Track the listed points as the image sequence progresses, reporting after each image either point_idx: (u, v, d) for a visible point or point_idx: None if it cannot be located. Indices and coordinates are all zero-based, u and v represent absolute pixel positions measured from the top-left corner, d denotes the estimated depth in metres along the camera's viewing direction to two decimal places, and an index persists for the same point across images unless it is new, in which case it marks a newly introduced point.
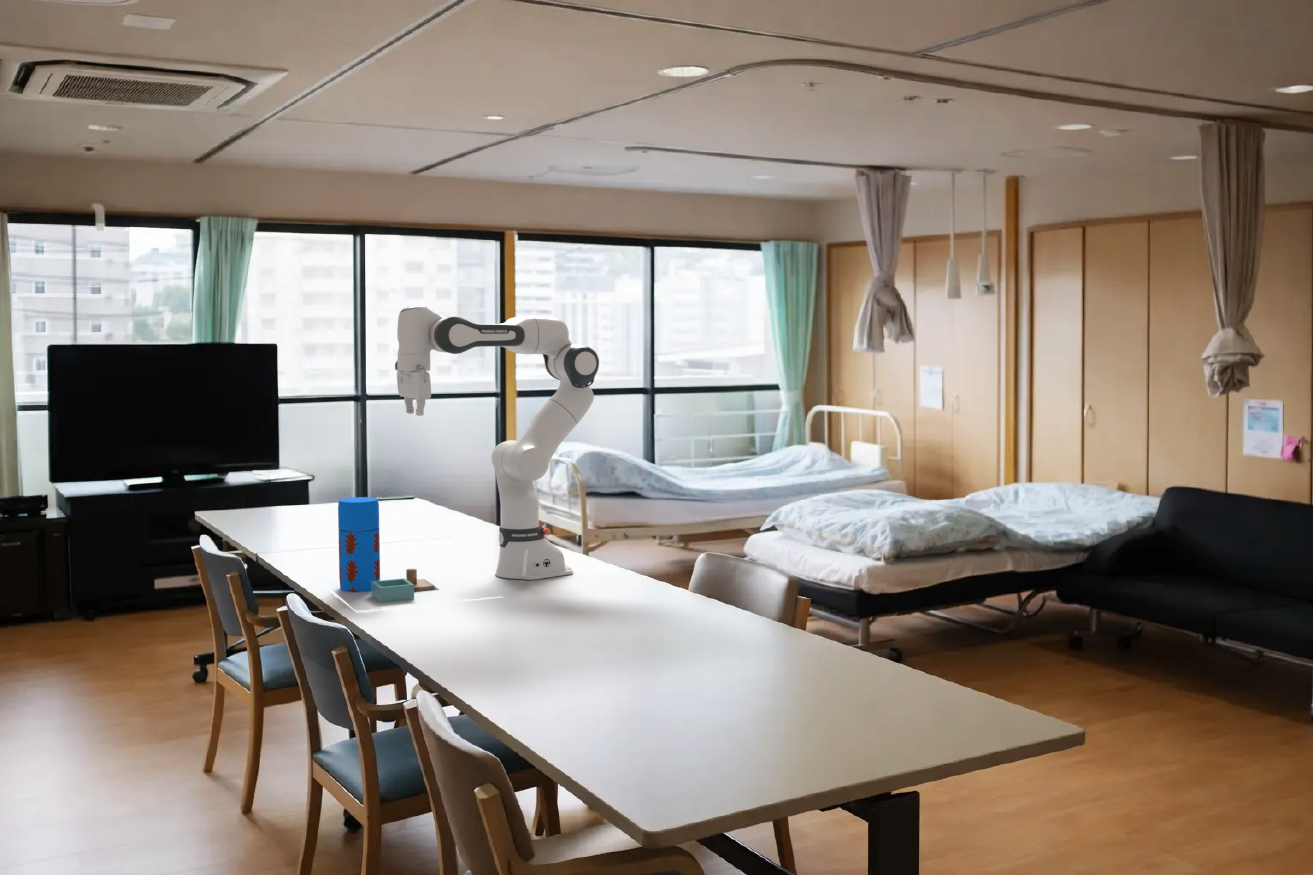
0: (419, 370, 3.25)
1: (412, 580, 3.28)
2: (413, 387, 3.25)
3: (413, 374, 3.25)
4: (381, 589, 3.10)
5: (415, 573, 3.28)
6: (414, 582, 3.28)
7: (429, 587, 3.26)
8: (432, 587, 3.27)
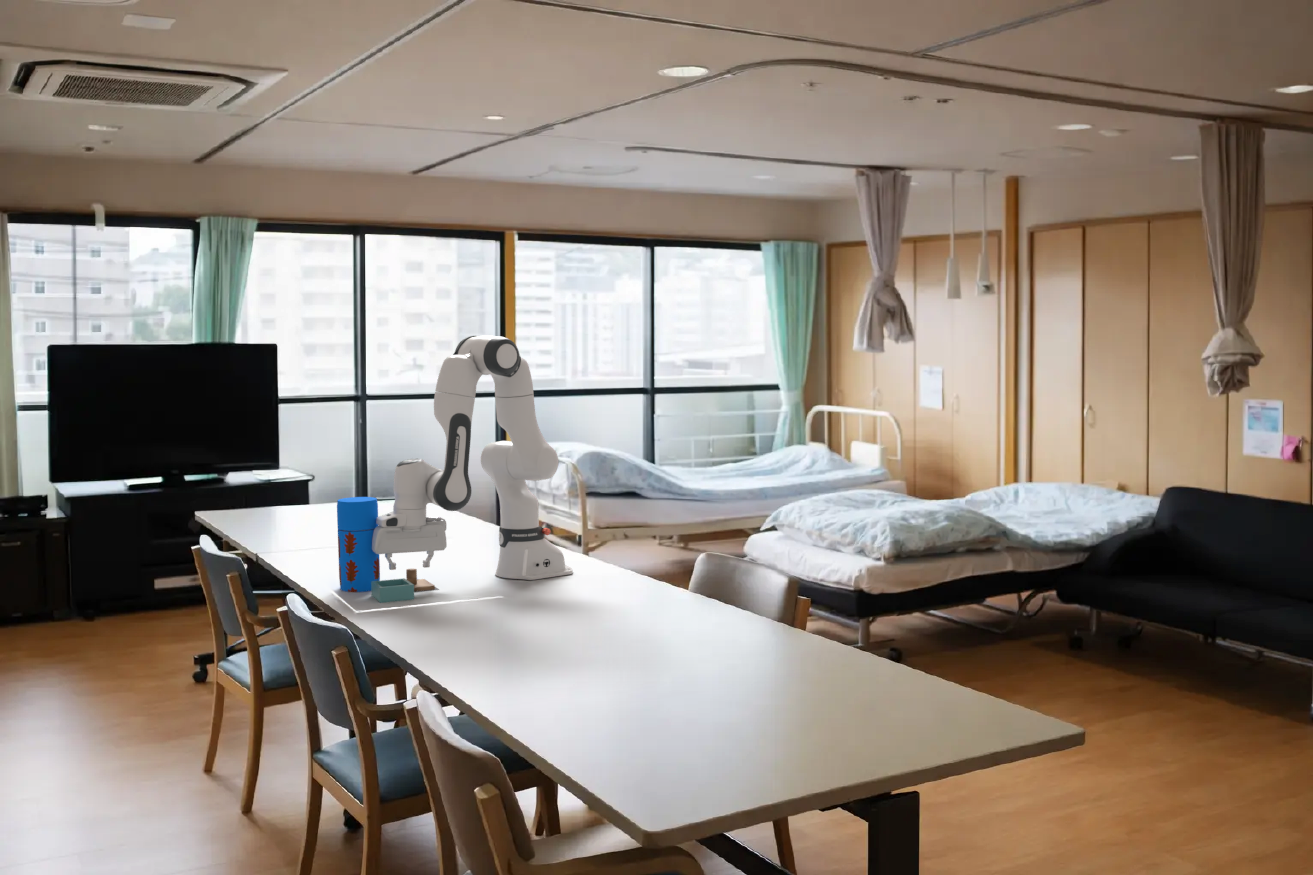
0: (432, 522, 3.30)
1: (412, 580, 3.28)
2: (430, 540, 3.28)
3: (430, 527, 3.28)
4: (381, 589, 3.10)
5: (415, 573, 3.28)
6: (414, 582, 3.28)
7: (429, 587, 3.26)
8: (432, 587, 3.27)
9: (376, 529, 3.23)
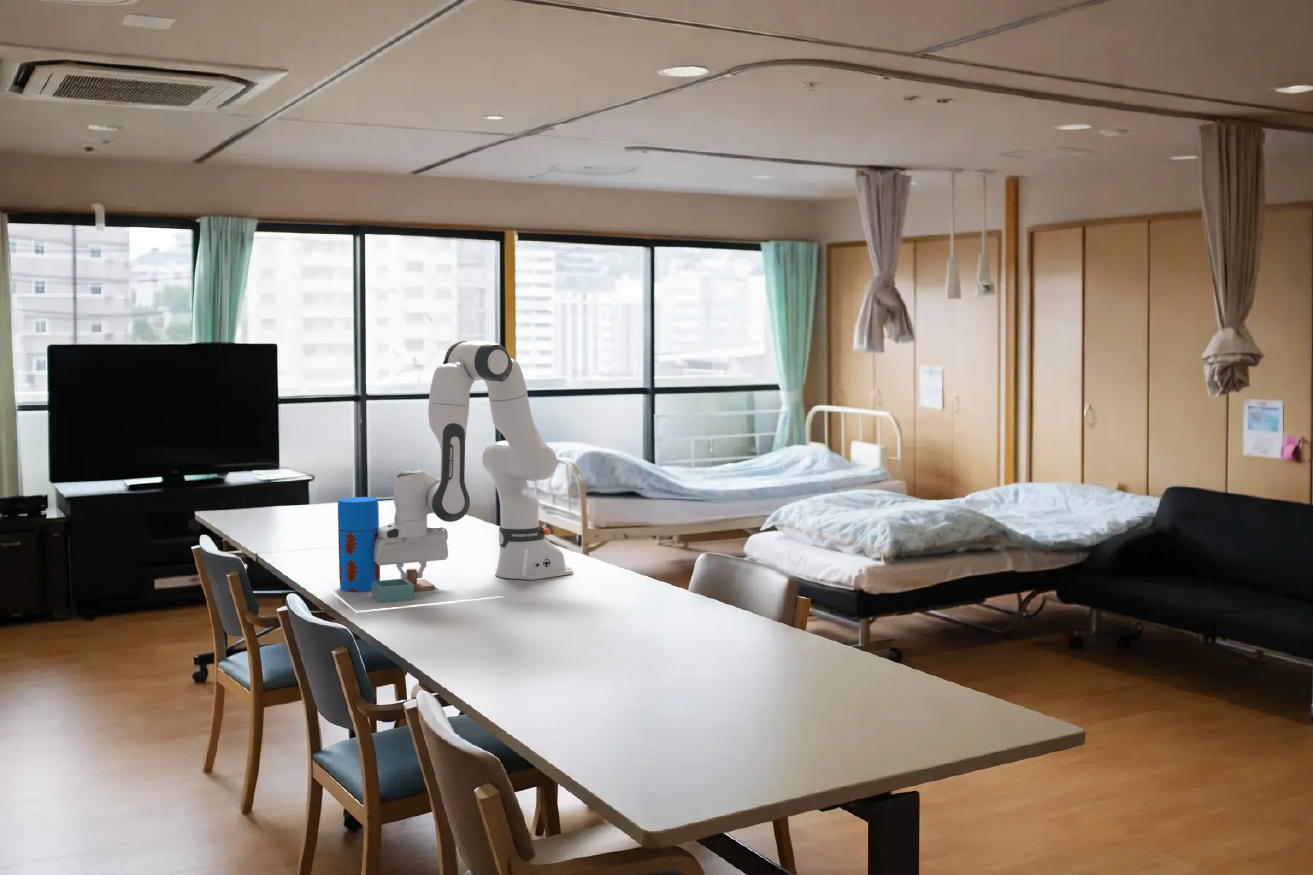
0: (434, 532, 3.30)
1: (412, 580, 3.28)
2: (432, 550, 3.29)
3: (432, 537, 3.29)
4: (381, 589, 3.10)
5: (415, 573, 3.28)
6: (414, 582, 3.28)
7: (429, 587, 3.26)
8: (432, 587, 3.27)
9: (377, 540, 3.24)
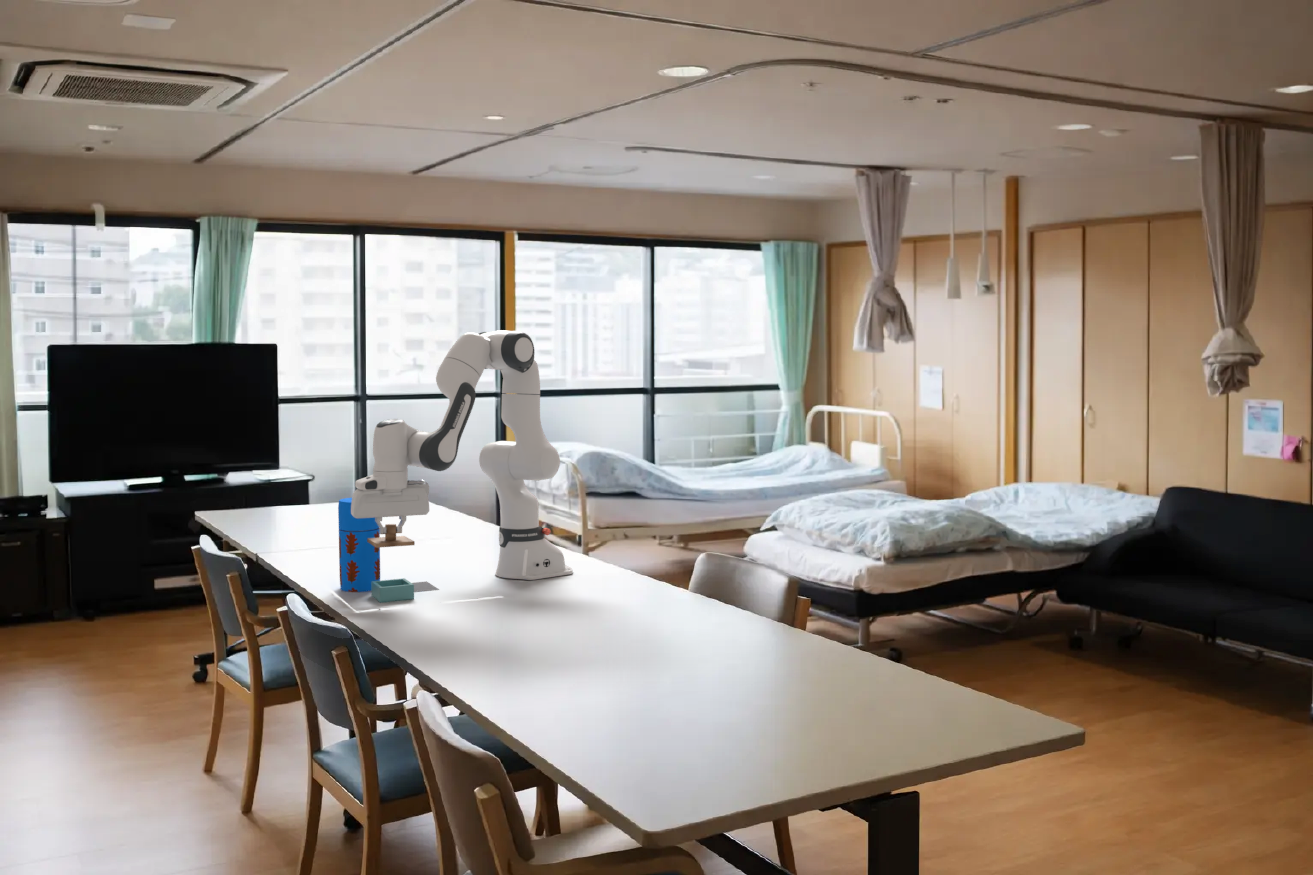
0: (414, 485, 3.17)
1: (391, 535, 3.14)
2: (412, 504, 3.15)
3: (412, 490, 3.15)
4: (381, 589, 3.10)
5: (394, 528, 3.14)
6: (393, 538, 3.14)
7: (408, 543, 3.12)
8: (412, 543, 3.13)
9: (355, 492, 3.10)
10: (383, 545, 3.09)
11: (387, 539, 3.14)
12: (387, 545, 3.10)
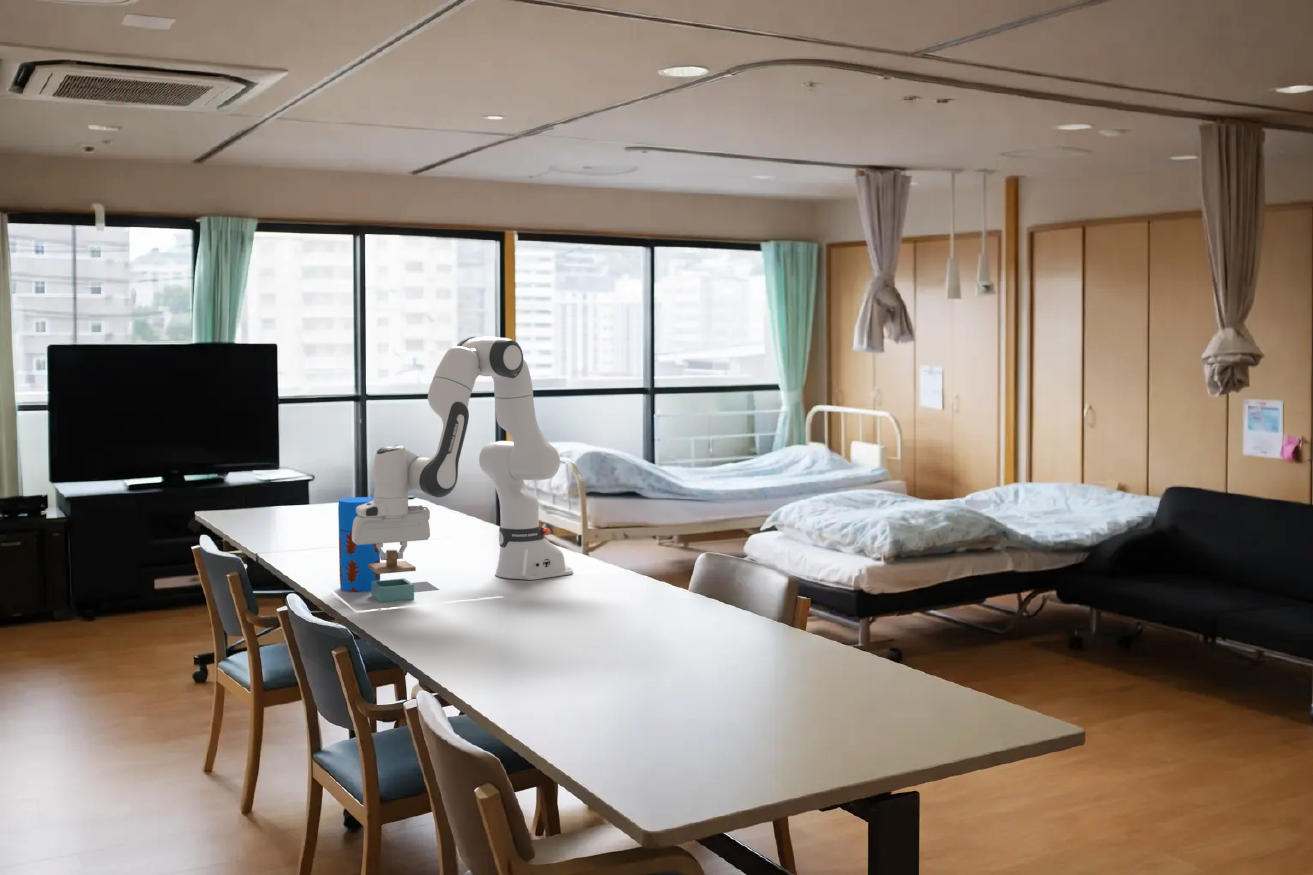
0: (415, 511, 3.17)
1: (392, 561, 3.14)
2: (413, 529, 3.16)
3: (413, 516, 3.15)
4: (381, 589, 3.10)
5: (395, 554, 3.15)
6: (394, 563, 3.15)
7: (410, 569, 3.13)
8: (413, 569, 3.13)
9: (356, 519, 3.11)
10: (384, 571, 3.10)
11: (388, 565, 3.14)
12: (388, 571, 3.10)
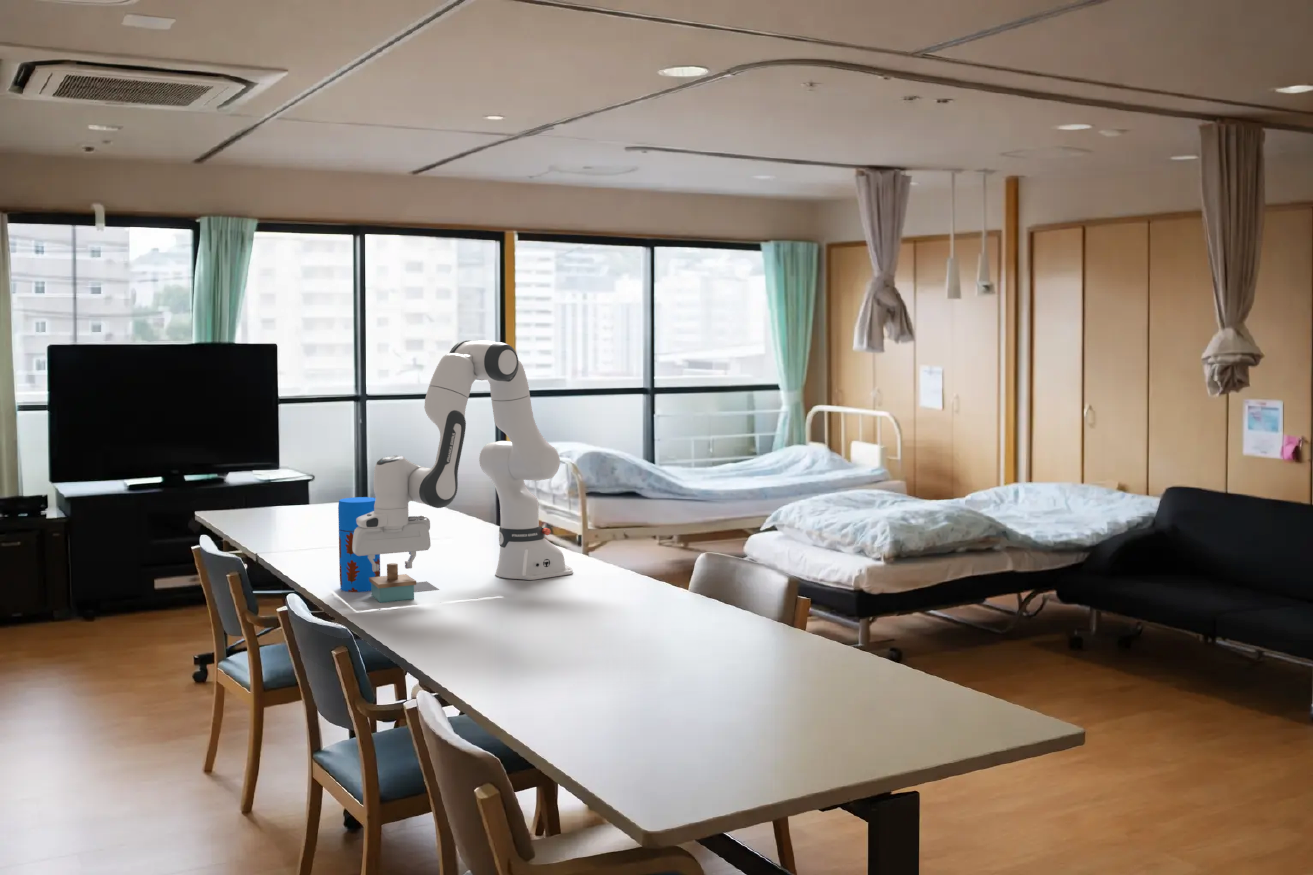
0: (415, 521, 3.17)
1: (393, 575, 3.15)
2: (413, 540, 3.16)
3: (413, 526, 3.16)
4: (381, 589, 3.10)
5: (396, 568, 3.15)
6: (395, 577, 3.15)
7: (410, 582, 3.13)
8: (413, 582, 3.14)
9: (356, 530, 3.11)
10: (385, 585, 3.10)
11: (389, 579, 3.15)
12: (389, 585, 3.11)
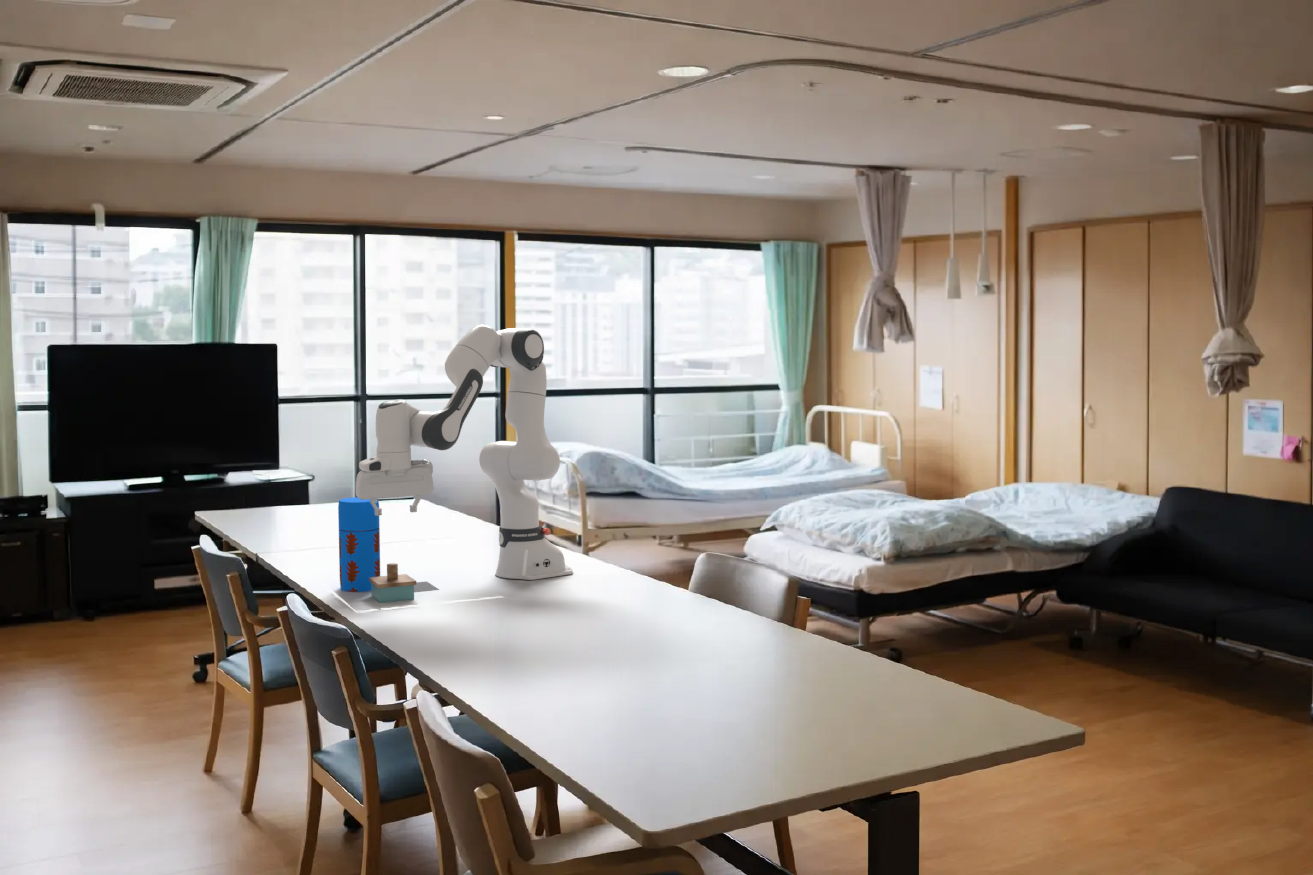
0: (418, 465, 3.18)
1: (393, 575, 3.15)
2: (416, 484, 3.16)
3: (416, 470, 3.16)
4: (381, 589, 3.10)
5: (396, 568, 3.15)
6: (395, 577, 3.15)
7: (410, 582, 3.13)
8: (413, 582, 3.14)
9: (359, 474, 3.11)
10: (385, 585, 3.10)
11: (389, 579, 3.15)
12: (389, 585, 3.11)
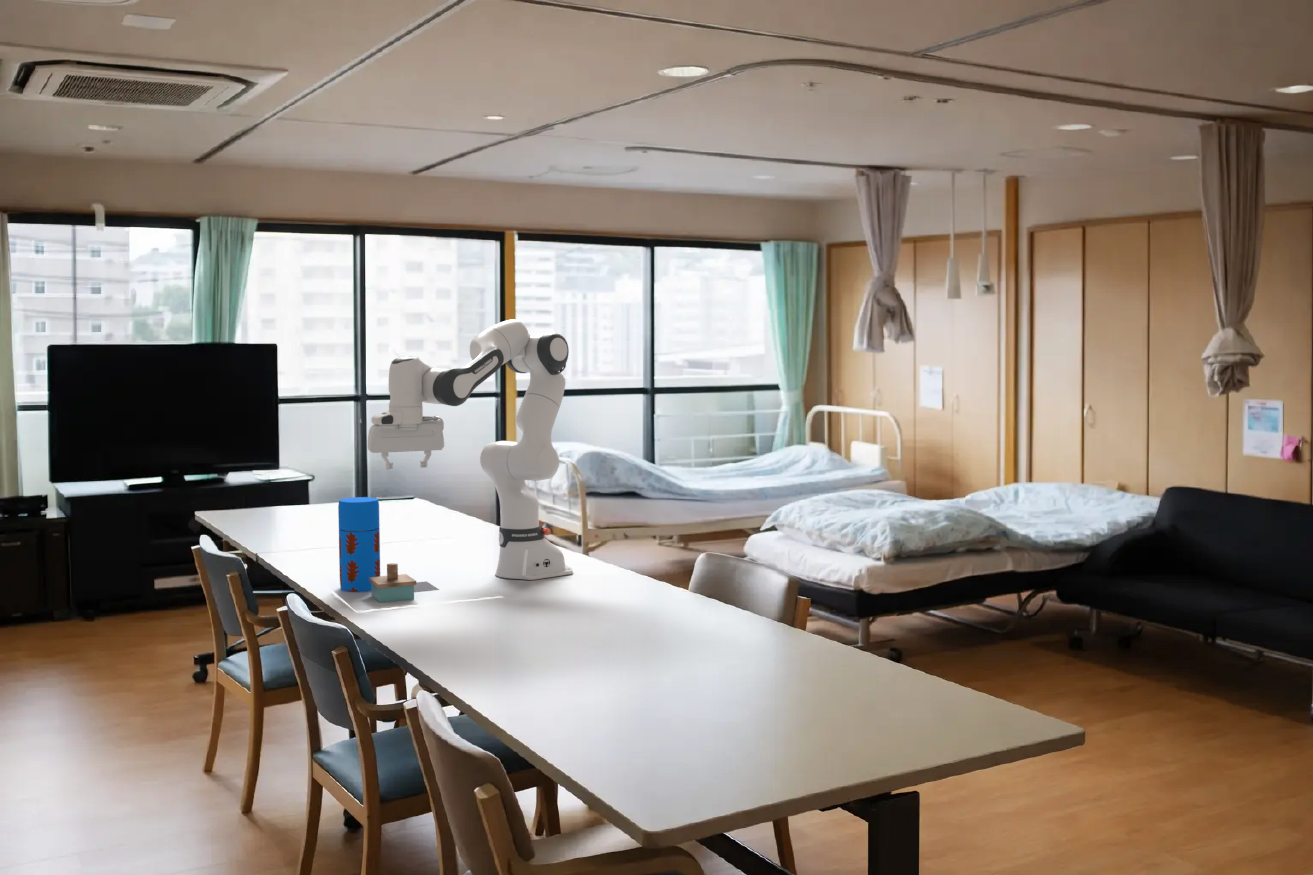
0: (429, 421, 3.23)
1: (393, 575, 3.15)
2: (427, 439, 3.22)
3: (427, 426, 3.22)
4: (381, 589, 3.10)
5: (396, 568, 3.15)
6: (395, 577, 3.15)
7: (410, 582, 3.13)
8: (413, 582, 3.14)
9: (371, 428, 3.17)
10: (385, 585, 3.10)
11: (389, 579, 3.15)
12: (389, 585, 3.11)
